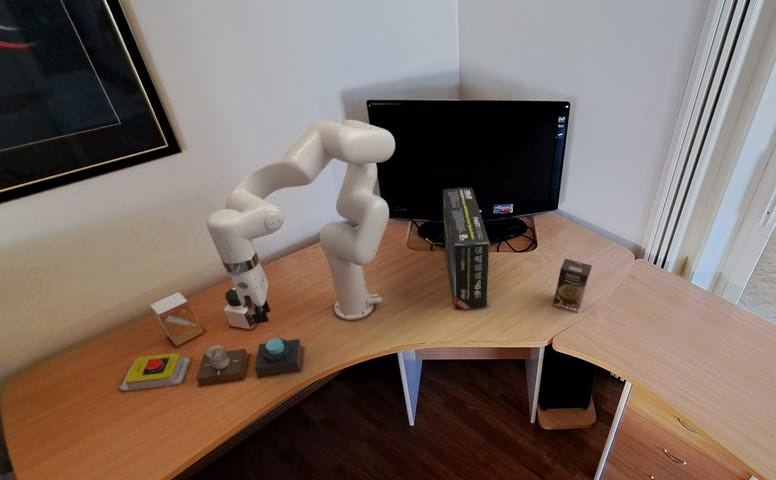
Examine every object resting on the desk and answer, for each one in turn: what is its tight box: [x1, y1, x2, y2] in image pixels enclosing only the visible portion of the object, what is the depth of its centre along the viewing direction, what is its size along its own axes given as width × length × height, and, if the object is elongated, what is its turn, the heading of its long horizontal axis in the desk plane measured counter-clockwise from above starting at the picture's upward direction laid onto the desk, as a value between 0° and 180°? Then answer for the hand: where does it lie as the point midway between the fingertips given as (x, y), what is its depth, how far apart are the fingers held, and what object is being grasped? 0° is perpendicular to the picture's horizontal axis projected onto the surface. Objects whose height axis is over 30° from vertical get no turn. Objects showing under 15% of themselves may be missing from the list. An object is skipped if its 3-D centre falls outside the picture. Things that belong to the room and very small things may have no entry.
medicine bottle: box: [223, 287, 257, 330], centre depth 137 cm, size 7×7×12 cm
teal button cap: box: [266, 338, 284, 355], centre depth 124 cm, size 4×4×2 cm
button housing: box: [254, 338, 303, 378], centre depth 126 cm, size 11×9×6 cm
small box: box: [149, 291, 204, 347], centre depth 131 cm, size 8×6×13 cm
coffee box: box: [552, 258, 593, 313], centre depth 146 cm, size 9×6×16 cm
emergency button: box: [119, 352, 191, 392], centre depth 122 cm, size 9×4×15 cm
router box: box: [442, 187, 491, 310], centre depth 152 cm, size 36×11×27 cm, turn 10°
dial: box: [205, 344, 230, 369], centre depth 122 cm, size 4×4×5 cm
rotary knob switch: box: [195, 348, 249, 386], centre depth 124 cm, size 11×9×3 cm
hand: (263, 316), depth 116 cm, fingers open, 3 cm apart
